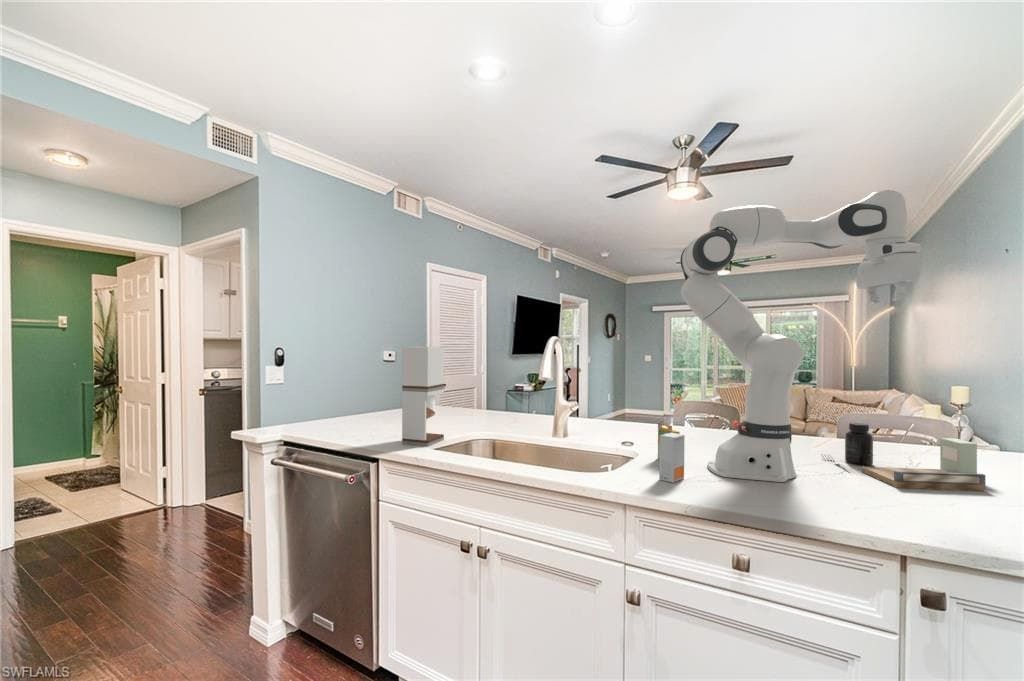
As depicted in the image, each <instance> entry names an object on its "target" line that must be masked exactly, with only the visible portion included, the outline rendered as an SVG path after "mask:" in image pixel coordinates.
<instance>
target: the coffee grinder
mask: <svg viewBox="0 0 1024 681" xmlns="http://www.w3.org/2000/svg"><path fill="white" fill-rule="evenodd" d="M401 348H402V349H401V352H402V353H401V355H402V358H401V359H402V360H401V363H402V364H401V366H402V368H401V377H402V379H401V382H402V383H401V389H402V390H401V392H402V393H401V396H402V397H401V401H402V404H401V405H402V406H401V412H402V414H401V415H402V417H401V424H402V425H401V429H402V430H401V434H402V435H401V439H402V440H401V442H402V443H401V444H402V445H407V446H419V447H420V446H421V447H430V446H432V445H435V444H438V443H440V442H442V441H444V440H445V435H444V434H441V433H439V434H438V433H432V432H427V420H428V419H431V418H432V417H434V416H435V414H436V395H441V394H444V393H445V378H444V377H445V356H444V355H445V347H444V346H433V347H432V346H430V347H429V346H428V347H426V346H424V347H423V346H402V347H401Z"/></svg>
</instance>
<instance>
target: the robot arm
mask: <svg viewBox="0 0 1024 681" xmlns="http://www.w3.org/2000/svg"><path fill="white" fill-rule="evenodd" d="M907 215H908V214H907V204H906V200H905V197H904V195H903V194H902V193H901V192H899V191H896V190H889V189H888V190H879V191H875V192H872V193H869V195H868V196H866V197H865V198H863V199H861V200H859V201H858V202H855V203H851V204H848V205H845V206H844V207H841V208H840V209H837V210H836V211H834V212H831V213H830V214H826V215H823V216H822V217H819V218H818V219H815V220H788V219H787V220H786V216H785V214H784V212H783V211H782V210H781V209H780V208H779V207H776V206H775V207H774V206H770V205H747V206H738V207H731V208H727V209H722V210H720V211H719V210H718V211H717V212H715V214H714V215H713V216H712V218H711V221H710V223H709V226H708V227H709V231H707V232H705V233H704V234H702V235H700V236H698V237H697V238H695V239H693V240H692V241H691V242H690V243H689V244H688V245H687V246H686V247H685V248H684V249H683V250H682V253H681V255H680V260H679V262H680V267H681V269H682V272H683V276H684V279H685V281H684V283H683V284H682V286H681V289H680V296H681V297H682V300H683V301H684V302H685V303H686V304H687V306H688V308H689V309H690V310H691V311H692V312H693V313H694V314H695V315H696V316H697V318H699V319H700V320H701V321H702V322H703V324H705V325H706V326H707V327H708V328H709V330H711V331H712V332H713V333H714V334H715V335H716V336H717V337H718V338H720V339H721V341H722V342H723V343H724V345H725V346H726V347H727V349H728V350H729V351H730V352H731V353H732V355H733V356H734V357H735V358H736V360H737V362H738V363H739V364H740V365H741V366H742V367H743V368H745V369H746V370H749V371H751V376H750V380H749V383H748V384H749V385H748V387H747V389H746V391H745V393H744V420H742V421H741V422H739V421H737V420H733V421H732V423H731V426H732V427H733V428H735V429H737V433H736V434H735V435H733V436H732V437H730V438H729V439H727V440H726V441H724V442H723V443H720V444H719V446H718V448H717V450H716V454H715V459H714V460H710V461H708V462H707V468H708V470H709V471H711V472H712V473H714V474H715V475H717V476H721V477H724V478H731V479H733V478H734V479H741V480H742V479H744V480H752V481H754V480H755V481H765V482H776V483H785V482H787V481H788V480H791V479H794V478H796V477H797V472H796V468H795V465H794V462H793V457H792V456H793V454H792V451H791V450H792V449H791V448H792V447H791V444H792V438H793V437H792V436H793V435H792V431H793V430H792V424H791V423H790V409H791V408H790V404H791V402H790V400H791V393H792V387H793V383H794V379H795V376H796V372H797V369H799V367H801V364H802V363H803V360H804V350H803V348H802V346H801V345H800V344H799V342H798V341H796V340H795V339H793V338H791V337H789V336H787V335H783V334H777V333H776V334H770V333H768V332H766V331H765V330H764V329H763V328H762V327H761V326H760V324H759V323H758V322H757V319H756V318H755V317H754V313H753V311H752V310H751V309H749V307H748V306H746V304H745V303H743V302H742V301H741V300H740V299H739V298H738V297H737V296H736V295H735V294H734V293H733V292H732V291H730V290H729V288H727V287H726V286H725V285H724V284H723V283H722V282H721V280H720V277H719V274H718V273H719V271H720V270H723V269H724V268H726V266H728V265H729V264H730V262H731V261H732V259H733V257H734V253H735V249H736V247H740V246H741V247H753V246H754V247H756V246H765V245H766V246H767V245H772V244H776V243H803V244H804V243H806V244H812V245H815V246H817V247H820V248H823V249H826V250H827V249H831V250H833V249H837V248H840V247H842V246H843V245H846V244H848V243H851V242H853V241H856V240H859V239H864V241H865V242H864V243H865V245H864V252H865V253H864V254H865V255H864V258H863V259H862V260H861V262H860V264H859V265H858V268H857V272H856V287H857V288H858V289H859V290H865V292H866V295H867V296H868V297H867V298H868V302H869V304H879V303H880V296H878V295H877V291H878V288H880V287H881V288H882V287H887V286H892V285H893V286H894V287H895V290H894V293H892V294H891V295H892V296H891V297H892V298H891V299H892V301H903V300H904V293H905V291H906V289H907V287H908V282H914V281H918V280H919V278H920V276H921V270H922V262H921V260H922V259H921V255H920V252H921V251H922V244H921V243H917V242H916V243H915V242H910V241H908V240H907V237H908V236H907V234H906V230H905V229H906V225H907V220H908V219H907Z"/></svg>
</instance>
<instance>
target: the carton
mask: <svg viewBox="0 0 1024 681" xmlns="http://www.w3.org/2000/svg"><path fill="white" fill-rule="evenodd" d="M939 446H940V447H939V448H940V452H939V454H940V460H939V461H940V464H939V466H940V469H941V470H944V471H946V472H949V473H973V474H978V443H976V442H971V441H968V440H963V439H959V438H955V437H954V438H950V437H947V438H946V437H940V444H939Z"/></svg>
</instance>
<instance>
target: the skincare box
mask: <svg viewBox="0 0 1024 681" xmlns="http://www.w3.org/2000/svg"><path fill="white" fill-rule="evenodd" d="M658 460H659V463H658V464H659V465H658V467H659V468H658V475H659V476H658V479H659V480H661V481H664V482H668V483H671V484H672V483H676V482H678V481H681V480H684V479H685V434H683V433H680V434H676V433H667V434H664V435H660V449H659V459H658Z"/></svg>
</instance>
